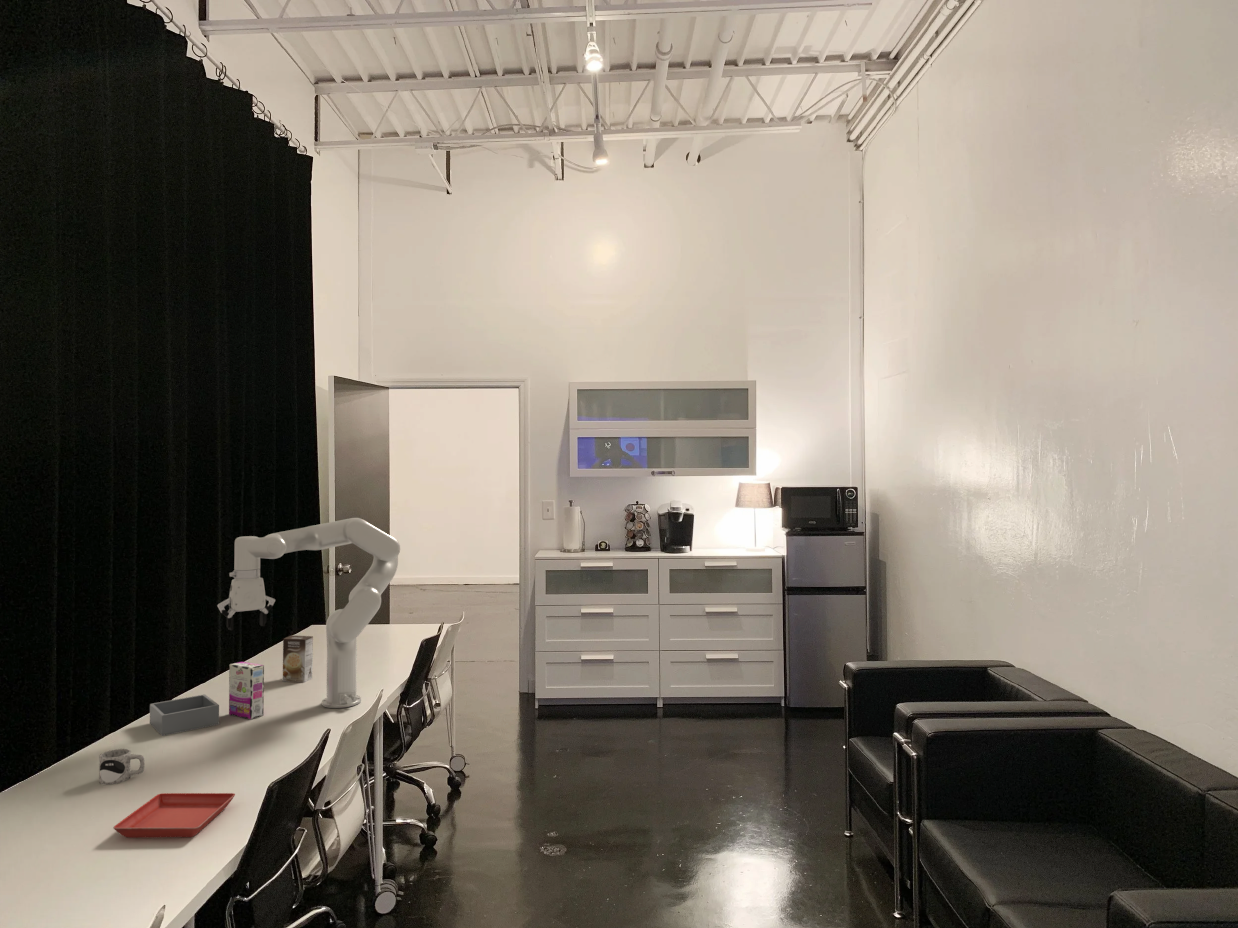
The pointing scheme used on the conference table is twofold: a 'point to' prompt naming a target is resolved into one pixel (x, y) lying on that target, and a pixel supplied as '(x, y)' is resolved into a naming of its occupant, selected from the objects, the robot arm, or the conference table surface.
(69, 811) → the conference table surface
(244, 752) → the conference table surface
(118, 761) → the mug
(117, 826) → the plant saucer
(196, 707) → the bin
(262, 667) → the candy bar box
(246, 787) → the conference table surface
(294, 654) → the coffee box
